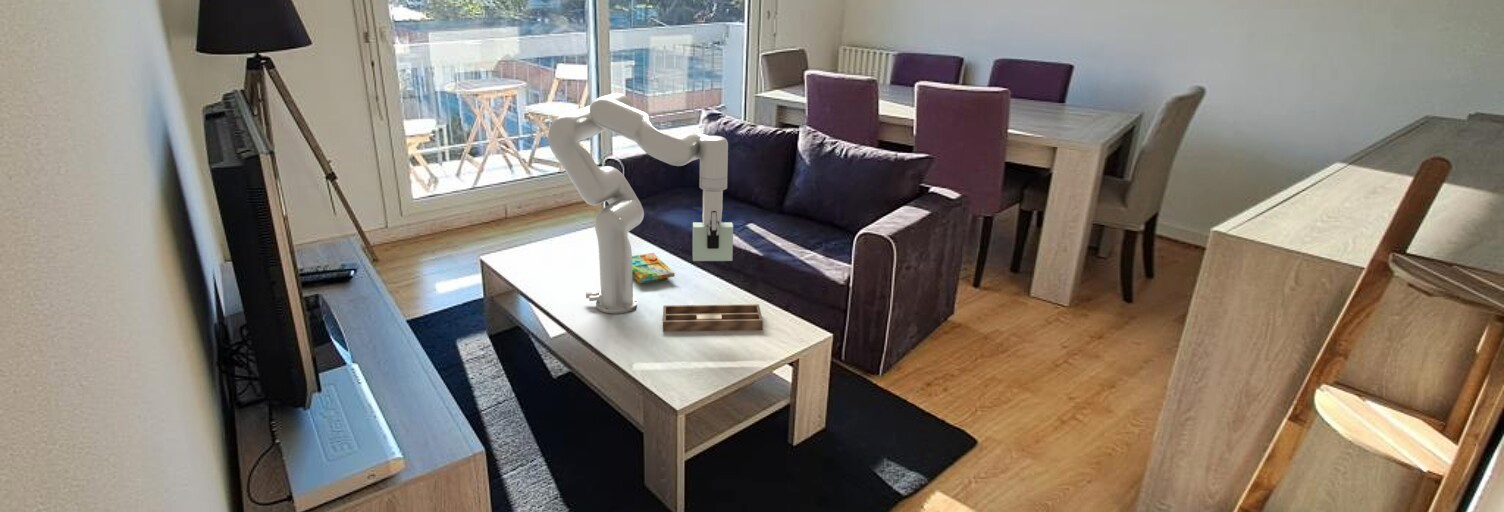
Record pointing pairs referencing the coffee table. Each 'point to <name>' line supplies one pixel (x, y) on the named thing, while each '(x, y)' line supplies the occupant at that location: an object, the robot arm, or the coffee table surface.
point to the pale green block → (701, 243)
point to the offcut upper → (709, 317)
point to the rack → (731, 320)
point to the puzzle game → (649, 268)
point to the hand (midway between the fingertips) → (712, 244)
